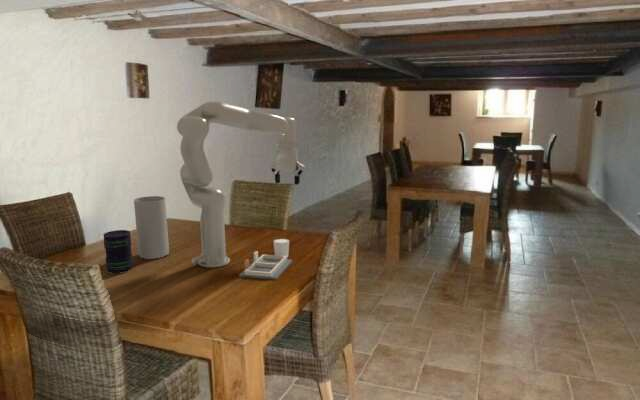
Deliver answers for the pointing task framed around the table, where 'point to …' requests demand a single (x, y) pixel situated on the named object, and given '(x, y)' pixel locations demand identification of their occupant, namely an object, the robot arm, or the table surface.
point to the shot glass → (281, 247)
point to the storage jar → (118, 251)
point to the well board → (265, 266)
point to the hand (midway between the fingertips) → (287, 183)
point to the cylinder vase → (151, 227)
